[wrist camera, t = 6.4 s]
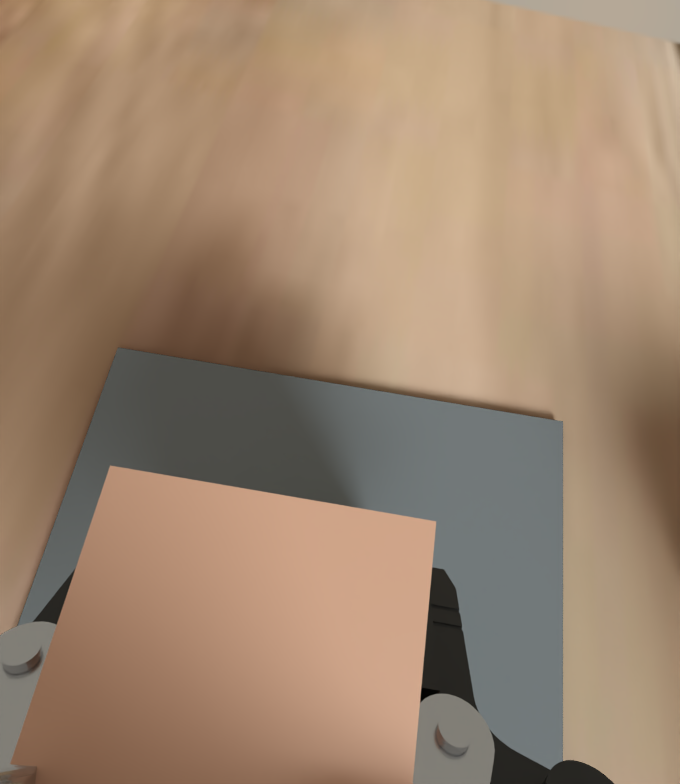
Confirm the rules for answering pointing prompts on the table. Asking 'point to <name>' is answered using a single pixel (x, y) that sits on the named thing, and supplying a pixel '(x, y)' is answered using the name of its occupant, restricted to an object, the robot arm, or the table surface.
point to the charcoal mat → (362, 499)
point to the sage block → (234, 642)
